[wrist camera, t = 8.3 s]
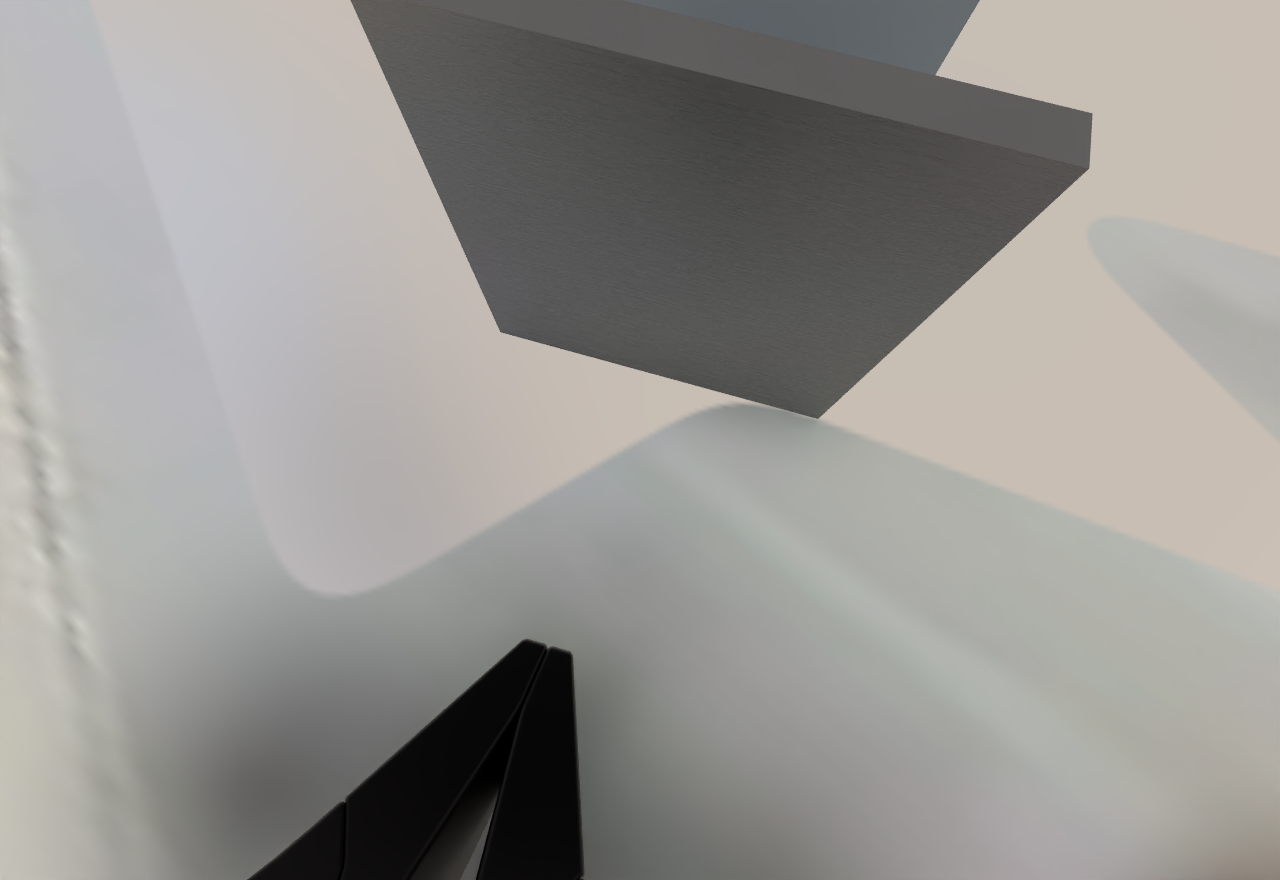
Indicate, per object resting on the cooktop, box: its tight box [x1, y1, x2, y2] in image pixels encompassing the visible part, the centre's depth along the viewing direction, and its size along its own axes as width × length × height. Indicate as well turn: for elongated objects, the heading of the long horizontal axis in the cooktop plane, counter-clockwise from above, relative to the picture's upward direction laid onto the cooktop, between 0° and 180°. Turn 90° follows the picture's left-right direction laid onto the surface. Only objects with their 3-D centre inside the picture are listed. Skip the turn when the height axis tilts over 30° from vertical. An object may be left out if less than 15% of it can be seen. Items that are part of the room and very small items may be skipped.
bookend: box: [351, 0, 1092, 419], centre depth 15 cm, size 10×11×11 cm
